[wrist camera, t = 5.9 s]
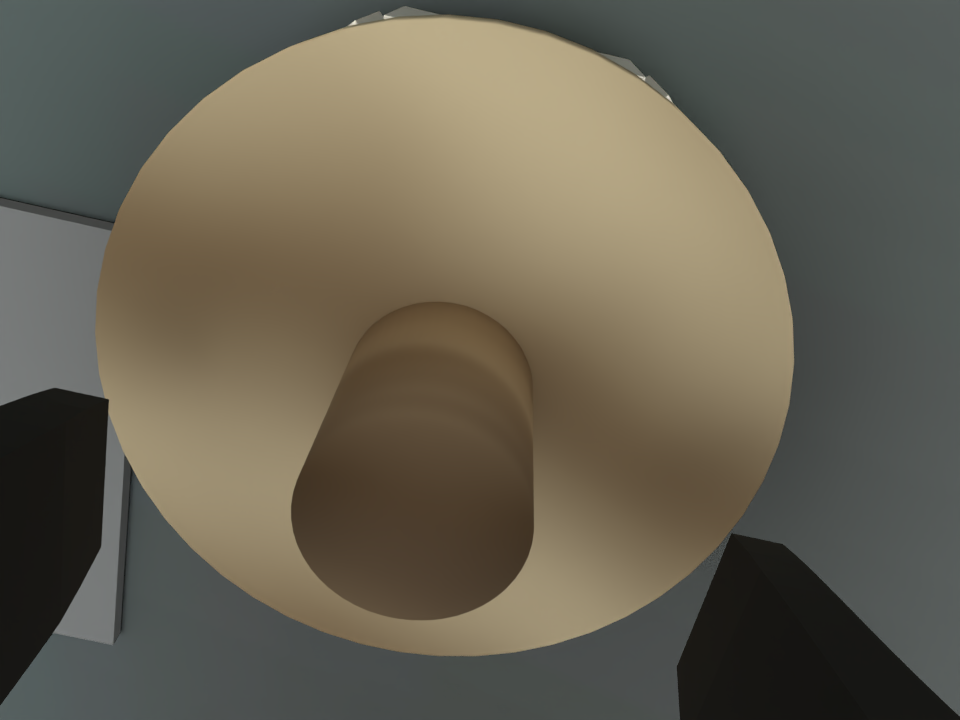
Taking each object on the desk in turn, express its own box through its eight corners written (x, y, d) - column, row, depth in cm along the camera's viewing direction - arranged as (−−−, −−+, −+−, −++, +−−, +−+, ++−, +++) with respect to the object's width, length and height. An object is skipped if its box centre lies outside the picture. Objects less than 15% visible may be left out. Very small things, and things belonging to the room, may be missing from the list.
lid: (636, 676, 17) (671, 907, 13) (90, 531, 16) (-59, 728, 12) (898, 143, 13) (1076, 234, 9) (172, -88, 12) (-17, -109, 8)
